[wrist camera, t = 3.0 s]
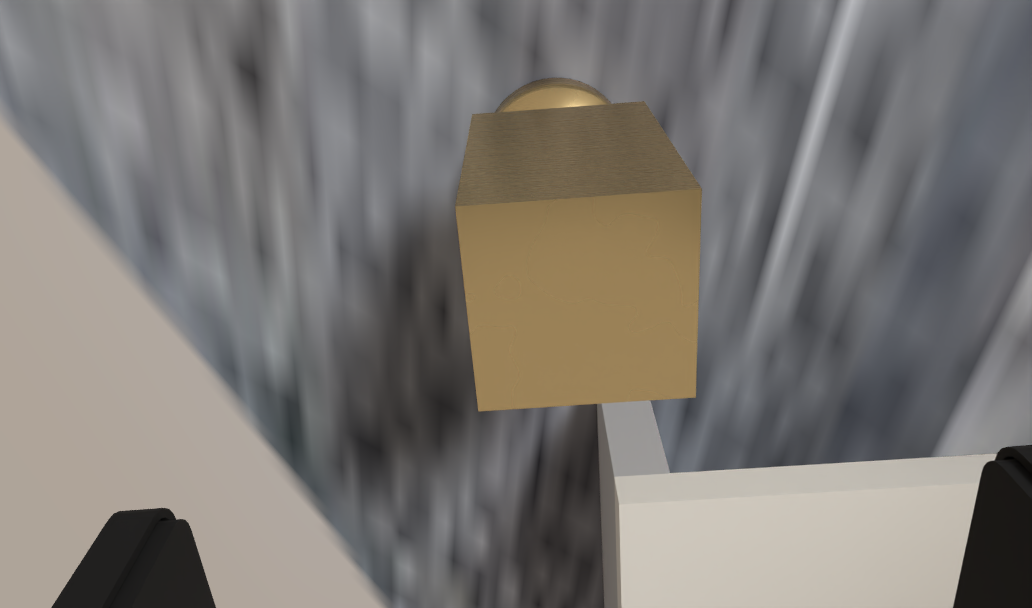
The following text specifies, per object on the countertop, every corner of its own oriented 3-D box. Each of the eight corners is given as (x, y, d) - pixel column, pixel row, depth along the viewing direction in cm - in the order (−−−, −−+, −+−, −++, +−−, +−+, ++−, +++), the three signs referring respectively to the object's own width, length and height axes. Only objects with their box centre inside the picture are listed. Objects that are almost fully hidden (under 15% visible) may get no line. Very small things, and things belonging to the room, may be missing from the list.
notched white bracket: (1174, 331, 28) (1371, 459, 22) (1080, 623, 34) (1212, 790, 28) (595, 369, 29) (619, 504, 22) (605, 649, 35) (626, 818, 28)
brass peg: (625, 72, 24) (701, 188, 14) (626, 211, 26) (695, 397, 16) (477, 83, 24) (455, 206, 15) (490, 221, 26) (478, 411, 17)
